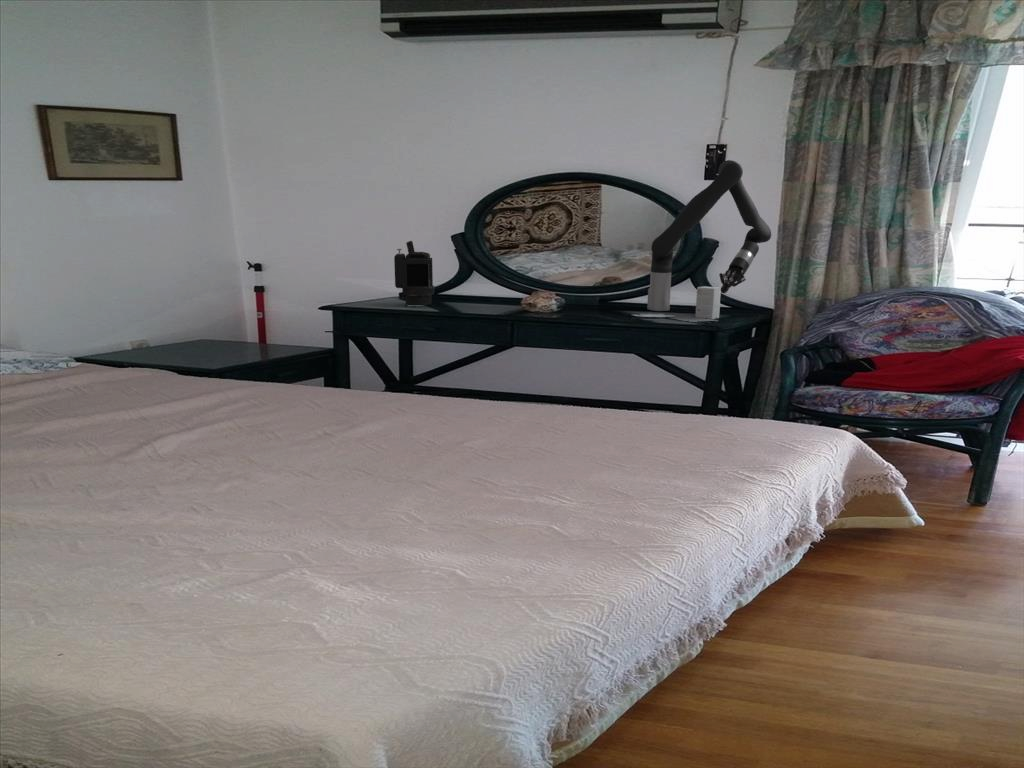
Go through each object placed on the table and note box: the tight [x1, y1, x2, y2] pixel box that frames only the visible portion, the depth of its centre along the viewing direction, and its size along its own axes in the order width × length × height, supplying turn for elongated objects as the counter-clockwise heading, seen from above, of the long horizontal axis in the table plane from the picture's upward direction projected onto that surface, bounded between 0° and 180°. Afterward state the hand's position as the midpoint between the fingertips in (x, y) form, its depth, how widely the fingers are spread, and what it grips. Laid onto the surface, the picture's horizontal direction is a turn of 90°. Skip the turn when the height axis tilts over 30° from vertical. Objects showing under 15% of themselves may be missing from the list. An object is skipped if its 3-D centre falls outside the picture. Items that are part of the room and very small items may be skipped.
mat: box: [675, 315, 719, 323], centre depth 311 cm, size 18×12×1 cm
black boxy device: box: [393, 240, 435, 305], centre depth 349 cm, size 15×18×30 cm
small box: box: [694, 286, 722, 320], centre depth 316 cm, size 8×6×13 cm
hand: (722, 292), depth 321 cm, fingers closed
